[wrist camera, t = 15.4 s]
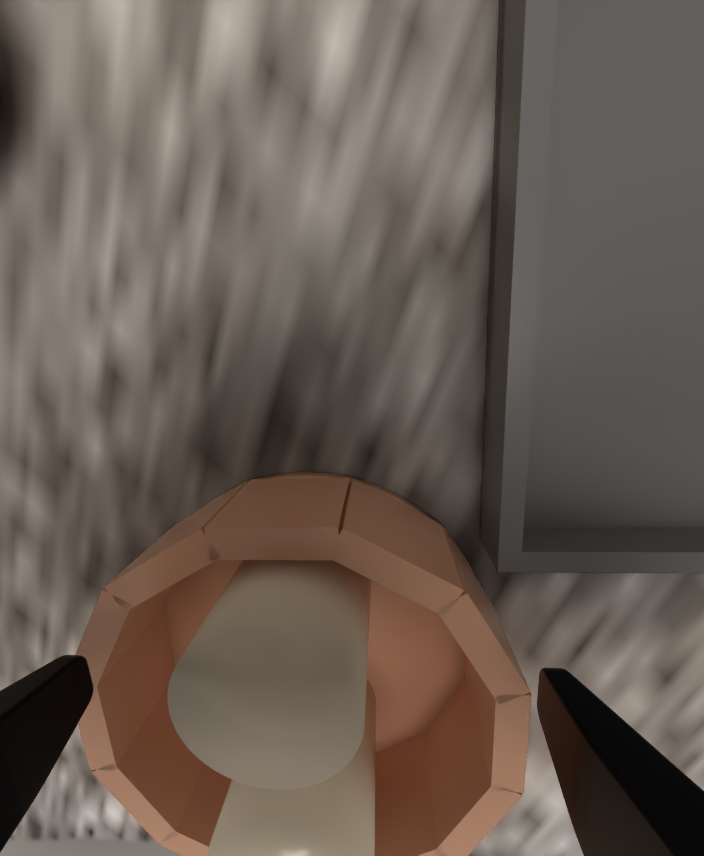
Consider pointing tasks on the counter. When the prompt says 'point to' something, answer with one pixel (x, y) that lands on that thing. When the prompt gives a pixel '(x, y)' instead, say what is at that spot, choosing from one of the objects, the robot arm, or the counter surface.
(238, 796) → the cream rounded piece
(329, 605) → the pebble
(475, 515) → the counter surface
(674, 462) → the parts tray
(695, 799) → the robot arm
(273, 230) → the counter surface
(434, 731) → the bowl
